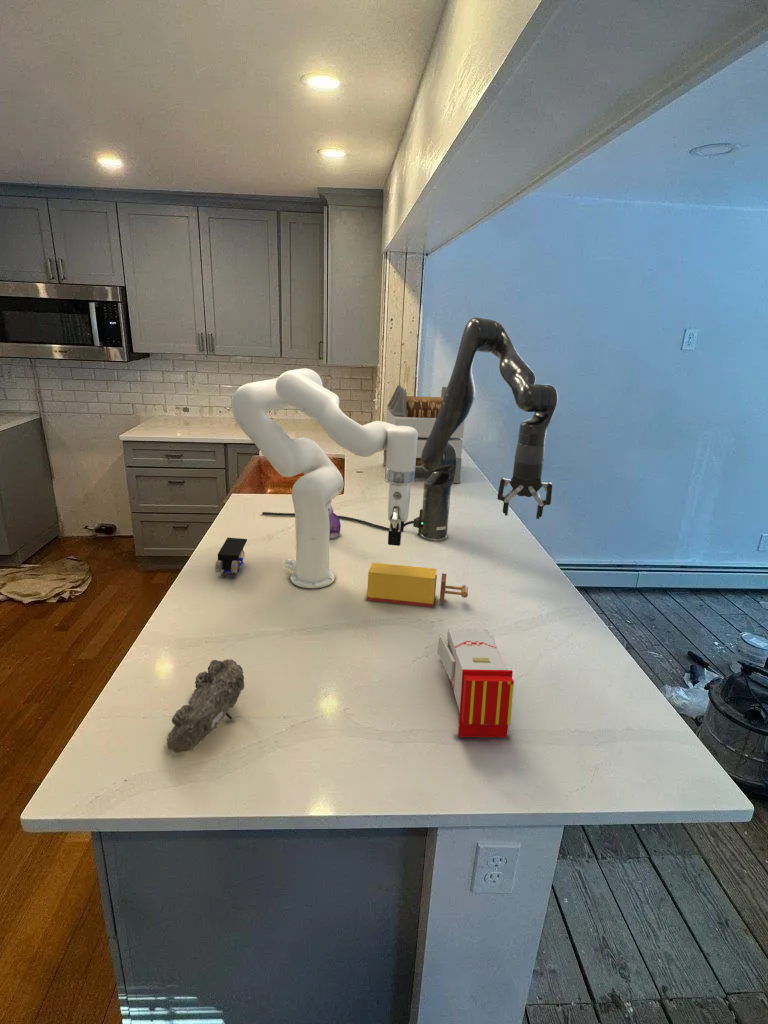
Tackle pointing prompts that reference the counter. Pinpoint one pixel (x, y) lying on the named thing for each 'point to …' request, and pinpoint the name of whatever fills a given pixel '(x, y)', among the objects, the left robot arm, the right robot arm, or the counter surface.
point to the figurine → (333, 521)
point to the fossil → (206, 705)
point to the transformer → (421, 421)
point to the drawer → (443, 585)
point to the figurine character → (230, 556)
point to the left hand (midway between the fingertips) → (395, 537)
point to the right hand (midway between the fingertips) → (521, 516)
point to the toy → (478, 682)
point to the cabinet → (401, 584)
